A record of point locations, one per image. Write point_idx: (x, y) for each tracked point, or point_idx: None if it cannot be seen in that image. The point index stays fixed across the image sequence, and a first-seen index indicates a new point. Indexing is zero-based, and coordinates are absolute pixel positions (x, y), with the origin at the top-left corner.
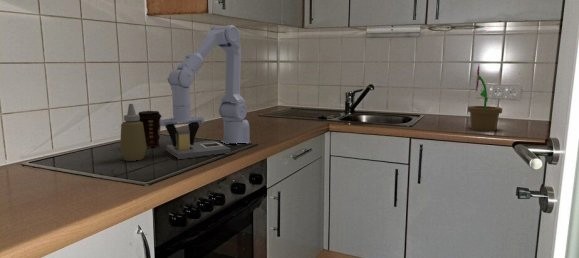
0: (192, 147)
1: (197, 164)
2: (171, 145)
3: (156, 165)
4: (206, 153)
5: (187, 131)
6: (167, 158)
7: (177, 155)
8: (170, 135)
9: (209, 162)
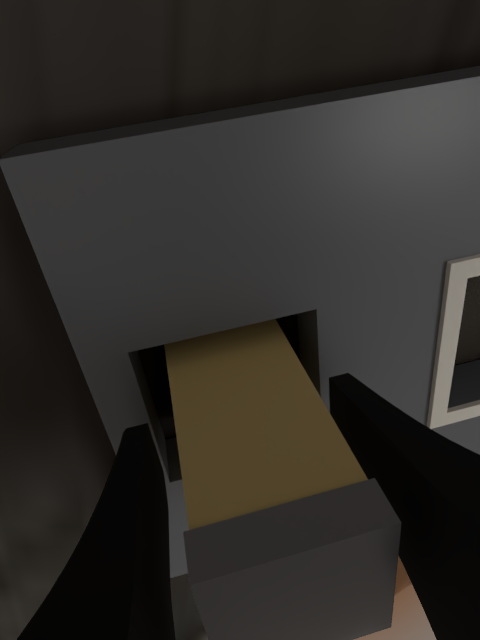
0: None
1: None
2: (100, 211)
3: (12, 621)
4: None
5: (354, 628)
6: (75, 481)
7: None
8: (91, 553)
9: None
